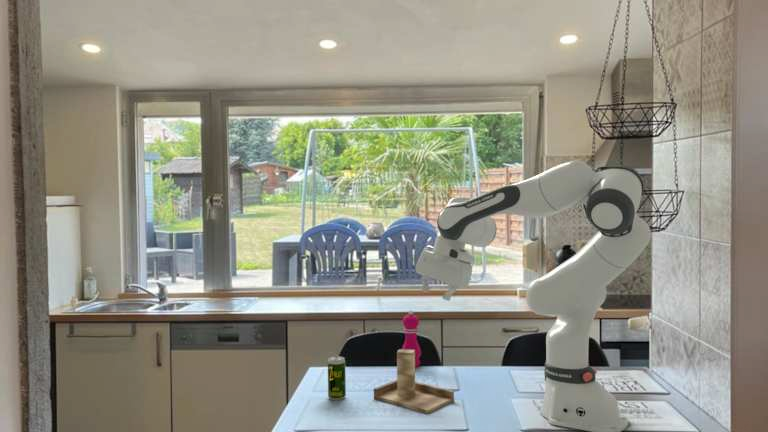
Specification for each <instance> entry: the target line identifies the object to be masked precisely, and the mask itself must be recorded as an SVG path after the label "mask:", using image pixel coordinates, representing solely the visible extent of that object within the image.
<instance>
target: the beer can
mask: <svg viewBox="0 0 768 432" xmlns="http://www.w3.org/2000/svg"><path fill="white" fill-rule="evenodd" d="M345 359H346V358H345V357H344V356H331V357H328V361H327V395H328V399H329V400H331V401H342V400H344V399H345V398H346V395H347V392H346V391H347V389H346V388H347V385H346V383H347V380H346V360H345Z"/></svg>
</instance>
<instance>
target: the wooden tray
mask: <svg viewBox="0 0 768 432" xmlns="http://www.w3.org/2000/svg"><path fill="white" fill-rule="evenodd" d="M374 399H375V400H379V401H382V402H385V403H389V404H392V405H396V406H398V405H399V406H400V407H403V408H406V409H409V410H411V411H412V410H413V411H417V412H419V413H424V414H428V415H429V414H430V413H432V412H434V411H437V410H438V409H441V408H443V407H445V406H447V405H449V404H451V403H453V402H455V391H454V390H451V389H447V388H443V387H439V386H436V385H435V386H434V385H431V384H427V383H422V382H418V381H415V394H414V396H411V395H397V379H395V380H393V381H390V382H388V383H387V382H386V383H385V384H383V385H380V386H376V387H375V388H373V400H374ZM399 406H398V407H399Z"/></svg>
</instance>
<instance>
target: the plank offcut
mask: <svg viewBox="0 0 768 432" xmlns="http://www.w3.org/2000/svg"><path fill="white" fill-rule="evenodd" d="M396 376H397V377H396V380H397V395H411V396H414V394H415V382H416V367H415V350H407V349H402V348H400V349H398V350H397V352H396Z"/></svg>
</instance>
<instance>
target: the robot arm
mask: <svg viewBox="0 0 768 432" xmlns="http://www.w3.org/2000/svg"><path fill="white" fill-rule="evenodd" d="M643 194H644V181H643V178H642V176H641V174H640V173H639V171H637V170H636V169H635V168H633V167H631V166H630V165H629V166H627V165H612V166H599V167H597V168H596V169H595V170H593V169H592V168H591V166H590V165H589V164H588V163H586V162H584V161H583V160H579V159H578V160H577V159H576V160H575V159H574V160H571V161H568V162H564V163H561V164H558V165H556V166H553V167H551V168H548V169H547V170H545V171H543V172H540V173H538V174H537V175H535V176H532V177H529V178H527V179H525V180H522V181H519V182H516V183H512V184H508V185H505V186H501V187H498V188H496V189H493V190H490V191H488V192H485V193H483V194H480V195H477V196H476V197H473V198H471V199H470V198H468V197H460V196H459V197H455V196H454V197H452V198H450V200H449V201H448V202H447V204H446V205H445V206H444V207H443V208H442V210H440V212H439V214H438V215H437V221H436V223H437V229H438V231H439V232H438V233H437V235H436V236H435V237H436V238H435V241H434V245H433V246H432V245H427V246H425V247H424V248H423V250H422V252H421V253H420V256H419V257H418V260H417V262H416V266H415V273H416V274H419V275H422V277H421V281H422V282H421V283H422V286H421V291H422V292H425V293H429V291H430V288H431V287H430V285H429V281H430V280H431V279H434V280H435V281H439V282H442V283H445V284H448V286H447V288H448V290H447V291H446V292H443V295H442V299H443V300H445V301H451V298H452V295H454V293H455V292H456V291H457V288H458V289H463V290H464V289H466V288H467V287H468V286H469V284H470V281H471V277H472V273H473V266H472V265H474V263H475V260H476V258H475V256H473V255H472V254H471V253H470V252H469V251H468V250H466V249H465V247H466V245H470V246H472V247H476V248H477V247H478V248H486V247H488V246H489V245H491V244H492V242H493V241H494V240H495V238H496V235H497V230H498V229H497V224H496V221H495V220H494V219H493V218H492V217H493V216H497V215H514V216H521V217H527V218H531V219H536V220H537V219H544V218H549V217H552V216H555V215H558V214H559V213H561V212H564V211H566V210H568V209H570V208H572V207H573V206H578V205H580V206H581V205H586V206H585V214H586V219H587V220H588V222H589V224H590V225H591V226H592V227H593V228H595V229H596V230H597V232H596V233H595V234H594V235H593V236H592V238H591V239H590V240H588V241H587V243H585V244H584V245H583V247H582V248H581V249H580V250H578V251H577V252H576V253H575V254H574V255H572V256H571V257H570V258H568V259H566V260H564V261H563V262H562V263H561V264H559V265H558V266H555V268H553V269H552V270H550V271H549V272H547V273H545V274H544V275H543V276H540V277H538V278H536V279H533V280H532V281H530V282H529V284H528V285H527V287H526V290H525V291H526V292H525V301H526V303H527V306H528V308H529V309H530V310H531V311H532V312H533V313H534V314H535V315H539V316H544V317H557V318H556V319H555V322H554V324H553V325H552V326H551V328H549V330H548V331H547V333H546V335H545V345H546V346H545V349H546V350H545V351H546V353H545V354H546V355H545V356H546V357H545V358H546V359H545V362H544V381H545V388H544V396H543V402H542V406H541V409H540V414H541V416H542V417H544V418H545V419H546V420H548V422H549V423H550V424H551V425H553V426H559V427H565V428H570V429H574V430H575V429H576V430H582V431H586V432H622V431H624V430H625V429H626V428H627V427H628V425H629V417H628V416H627V415H625V414H622V413H621V412H620V408H619V403H618V401H617V399H616V397H615V396H614V395H613V394H612V393H611V392H610V391H609V390H607V389H606V388H605V387H604V386H603V385H602V384H601V383H599V382H598V381H597V380H596V374H598V368H595V369H593V367H592V366H591V365H590V364H589V345H590V343H589V342H590V341H589V340H590V334H591V329H592V326H593V322H594V319H595V317H596V314H597V311H599V309H600V307H601V306H602V305H603V304H604V302H605V301H606V298H607V294H608V292H607V286H608V285H610V284H611V283H612V282H613V281H614V280H615V279H617V277H618V276H620V275H621V274H622V273H623V272H624V271H625V270H627V268H629V267H630V265H631V264H633V263H634V261H636V260H637V258H638V257H639V256H640V255H641V254H642V252H643V251H644V250H645V249H646V248H647V245H648V244H649V243H650V241H651V239H652V231H651V228H650V226H649V225H648V223H647V222H646V220H644V219H643V218H641V216H639V214H637V212H638V209H639V208H640V203H641V200H642V199H641V198H642V196H643Z"/></svg>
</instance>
